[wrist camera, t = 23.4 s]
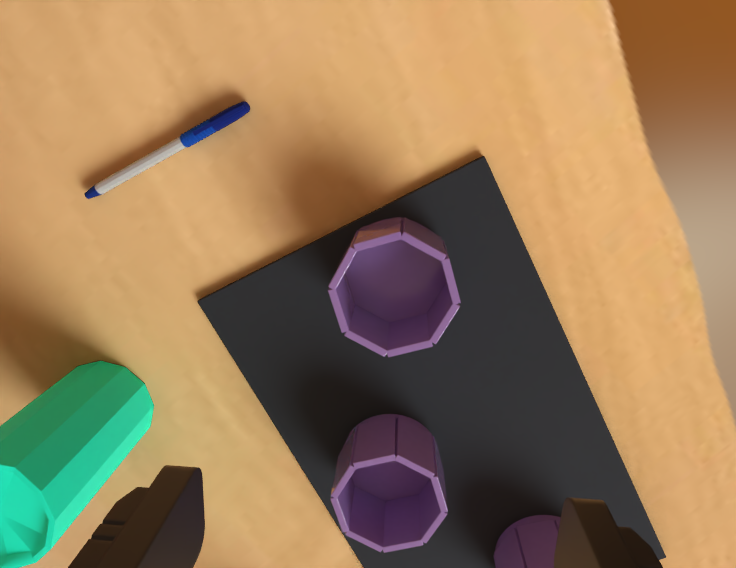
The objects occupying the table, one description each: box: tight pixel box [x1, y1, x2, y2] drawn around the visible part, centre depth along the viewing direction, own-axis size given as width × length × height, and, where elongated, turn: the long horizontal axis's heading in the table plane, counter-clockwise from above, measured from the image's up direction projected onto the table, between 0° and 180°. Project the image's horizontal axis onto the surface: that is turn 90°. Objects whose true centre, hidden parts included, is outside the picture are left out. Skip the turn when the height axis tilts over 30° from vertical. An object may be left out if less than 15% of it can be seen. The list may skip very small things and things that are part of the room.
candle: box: [0, 361, 154, 568], centre depth 30 cm, size 6×6×12 cm
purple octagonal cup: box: [330, 414, 448, 553], centre depth 32 cm, size 6×6×4 cm
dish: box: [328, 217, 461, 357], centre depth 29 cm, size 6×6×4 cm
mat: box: [198, 156, 666, 568], centre depth 34 cm, size 28×18×1 cm, turn 28°
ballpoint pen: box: [85, 101, 250, 199], centre depth 30 cm, size 10×1×1 cm, turn 119°
